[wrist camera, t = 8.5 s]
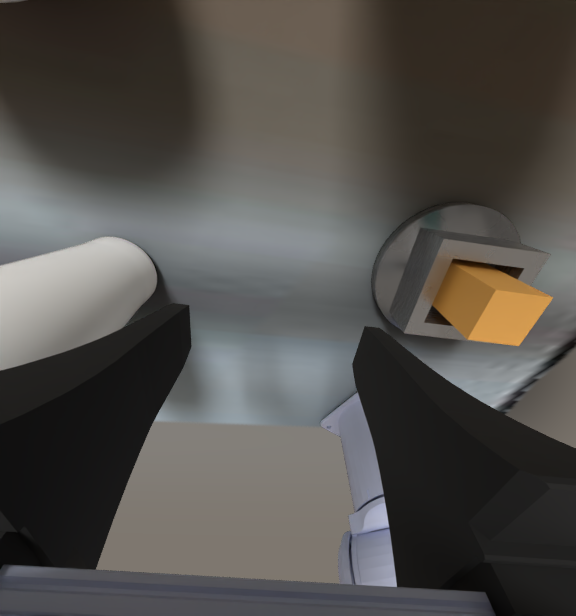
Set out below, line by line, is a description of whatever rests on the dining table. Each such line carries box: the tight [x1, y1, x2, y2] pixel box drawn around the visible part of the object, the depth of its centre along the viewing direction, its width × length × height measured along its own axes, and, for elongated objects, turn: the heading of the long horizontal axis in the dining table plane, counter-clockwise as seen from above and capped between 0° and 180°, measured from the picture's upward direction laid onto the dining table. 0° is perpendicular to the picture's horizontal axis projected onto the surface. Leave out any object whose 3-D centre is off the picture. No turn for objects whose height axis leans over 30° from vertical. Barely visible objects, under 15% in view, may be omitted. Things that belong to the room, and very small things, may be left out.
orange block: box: [432, 258, 553, 346], centre depth 16 cm, size 3×3×6 cm
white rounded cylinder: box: [0, 237, 157, 371], centre depth 13 cm, size 7×7×15 cm
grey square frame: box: [371, 202, 551, 344], centre depth 18 cm, size 10×10×4 cm
